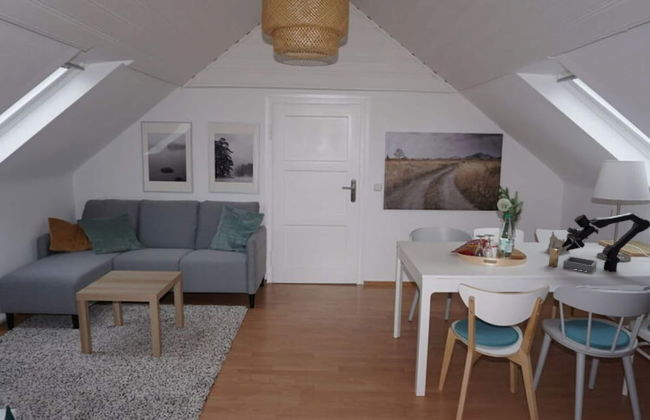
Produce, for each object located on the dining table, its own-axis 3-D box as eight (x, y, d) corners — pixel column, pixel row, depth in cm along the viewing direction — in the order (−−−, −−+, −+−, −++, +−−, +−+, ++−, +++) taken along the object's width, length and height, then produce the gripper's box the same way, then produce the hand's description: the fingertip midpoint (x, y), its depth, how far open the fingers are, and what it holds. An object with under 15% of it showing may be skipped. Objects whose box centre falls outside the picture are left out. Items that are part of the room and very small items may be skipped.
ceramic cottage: (548, 254, 330) (552, 233, 327) (544, 249, 345) (548, 229, 343) (572, 257, 325) (576, 236, 323) (567, 253, 341) (571, 233, 339)
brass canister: (558, 265, 301) (560, 249, 299) (556, 267, 297) (558, 250, 295) (549, 264, 304) (551, 248, 302) (547, 266, 300) (549, 249, 298)
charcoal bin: (596, 267, 299) (596, 260, 298) (591, 273, 287) (592, 266, 286) (568, 262, 309) (569, 256, 308) (563, 267, 297) (563, 261, 296)
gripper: (572, 220, 302) (551, 235, 306) (581, 226, 284) (559, 242, 288) (583, 233, 302) (563, 248, 306) (593, 239, 284) (572, 255, 288)
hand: (564, 248), depth 297 cm, fingers open, 9 cm apart
